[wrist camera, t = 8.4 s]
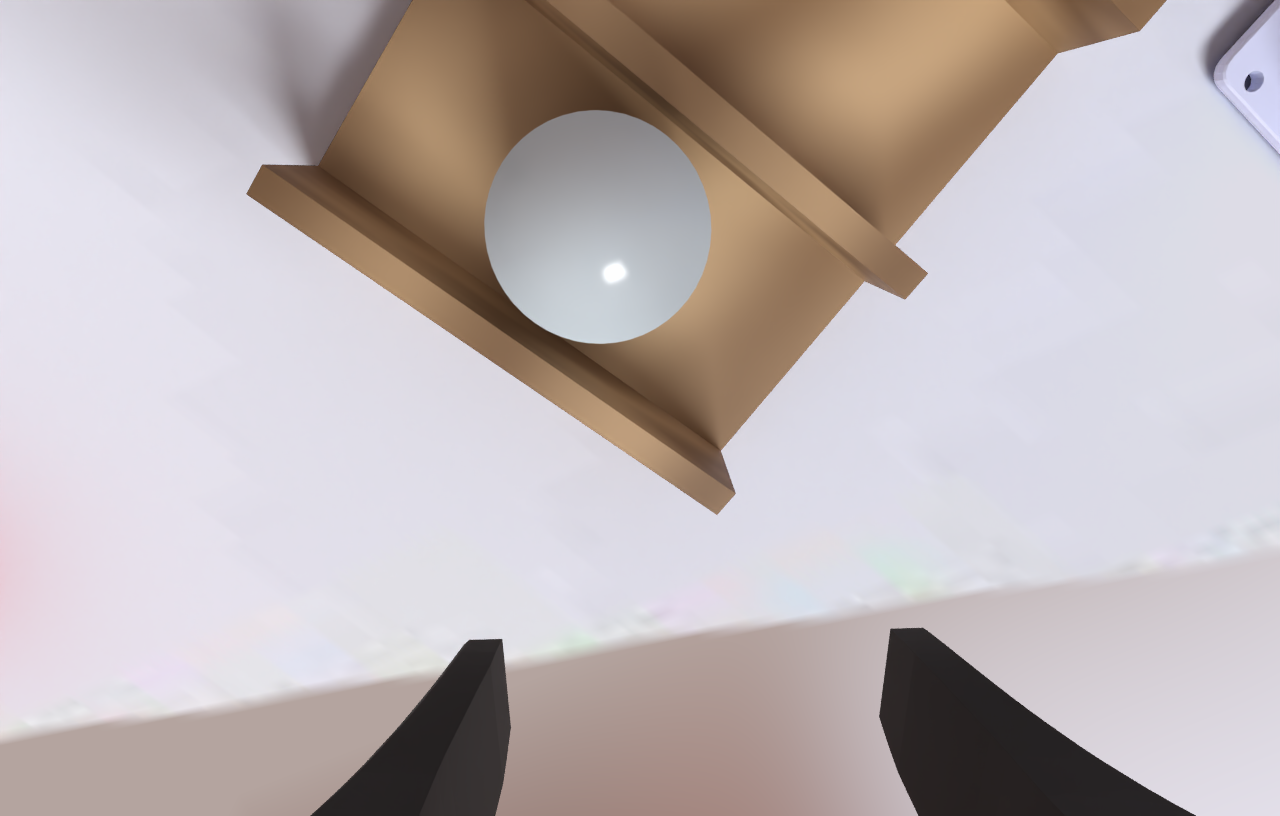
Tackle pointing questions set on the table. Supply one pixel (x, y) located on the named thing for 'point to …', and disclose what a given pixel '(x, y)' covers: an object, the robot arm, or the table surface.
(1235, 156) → the table surface
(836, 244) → the rack
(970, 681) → the robot arm
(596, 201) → the cylinder
